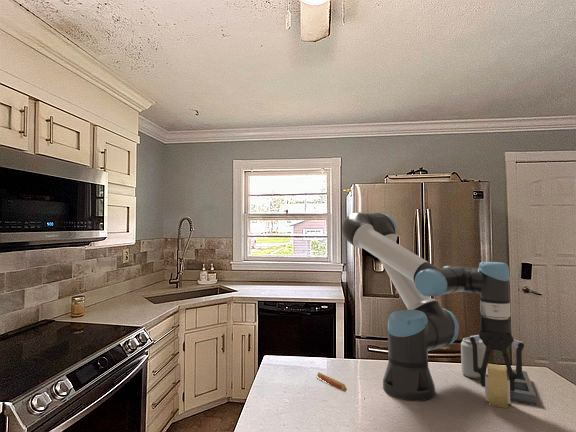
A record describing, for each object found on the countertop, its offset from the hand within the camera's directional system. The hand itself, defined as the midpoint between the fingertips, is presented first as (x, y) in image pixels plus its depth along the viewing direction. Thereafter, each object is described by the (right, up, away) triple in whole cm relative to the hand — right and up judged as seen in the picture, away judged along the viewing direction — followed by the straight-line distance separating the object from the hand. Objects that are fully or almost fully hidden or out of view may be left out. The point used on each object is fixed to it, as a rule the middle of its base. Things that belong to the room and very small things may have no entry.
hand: (497, 399), depth 102 cm
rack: (+11, -1, +10) cm, 15 cm away
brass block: (0, -1, 0) cm, 1 cm away
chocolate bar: (-46, -2, +14) cm, 48 cm away
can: (+4, -2, +20) cm, 21 cm away
